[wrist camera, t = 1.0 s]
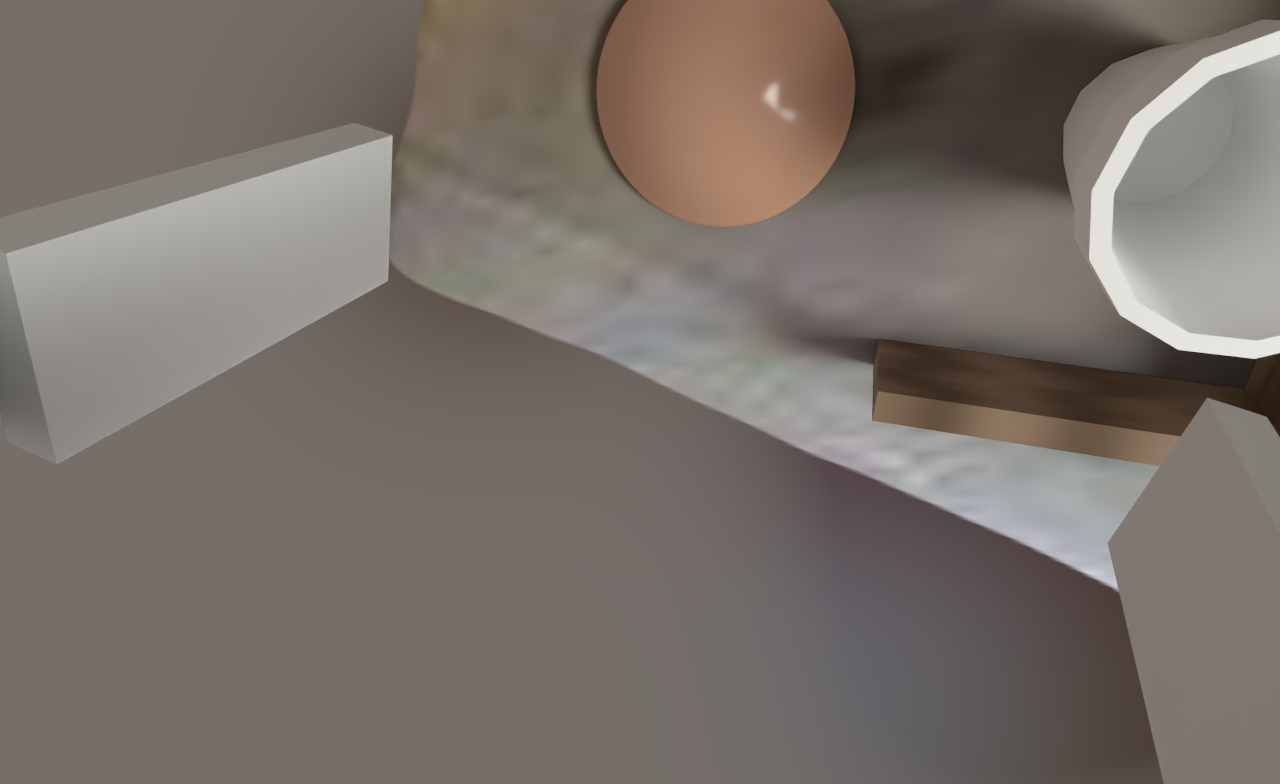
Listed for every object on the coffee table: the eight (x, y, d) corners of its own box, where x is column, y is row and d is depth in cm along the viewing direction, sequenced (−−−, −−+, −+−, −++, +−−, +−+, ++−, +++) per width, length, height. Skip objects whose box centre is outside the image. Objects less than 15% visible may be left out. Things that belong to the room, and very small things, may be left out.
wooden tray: (1578, -246, 26) (1749, -301, 21) (1267, 422, 38) (1327, 492, 33) (991, -240, 30) (1013, -285, 25) (873, 365, 42) (872, 420, 36)
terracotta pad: (877, -44, 34) (877, -45, 33) (833, 236, 39) (832, 240, 39) (602, -55, 36) (598, -55, 36) (598, 210, 42) (594, 213, 41)
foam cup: (1339, 85, 31) (1589, 145, 20) (1156, 276, 36) (1279, 410, 25) (1131, -40, 31) (1269, -48, 20) (976, 168, 36) (1018, 254, 25)
